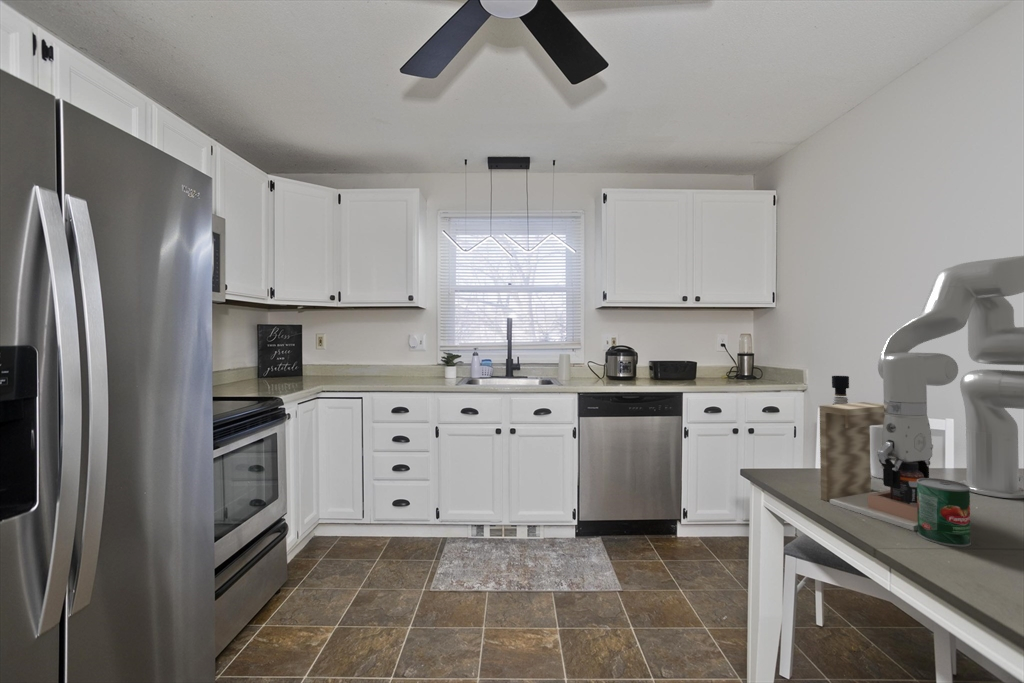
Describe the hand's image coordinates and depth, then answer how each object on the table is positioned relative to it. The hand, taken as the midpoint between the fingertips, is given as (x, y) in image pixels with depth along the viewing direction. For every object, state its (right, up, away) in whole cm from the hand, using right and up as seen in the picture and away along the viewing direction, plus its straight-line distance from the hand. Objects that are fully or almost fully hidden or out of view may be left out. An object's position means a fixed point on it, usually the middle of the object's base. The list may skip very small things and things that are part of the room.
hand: (906, 484), depth 107 cm
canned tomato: (-3, -7, -12) cm, 14 cm away
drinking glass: (+18, -7, +30) cm, 35 cm away
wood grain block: (-3, -7, +11) cm, 13 cm away
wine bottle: (+1, -7, +23) cm, 24 cm away
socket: (-1, -7, +3) cm, 8 cm away
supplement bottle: (0, -6, 0) cm, 6 cm away
